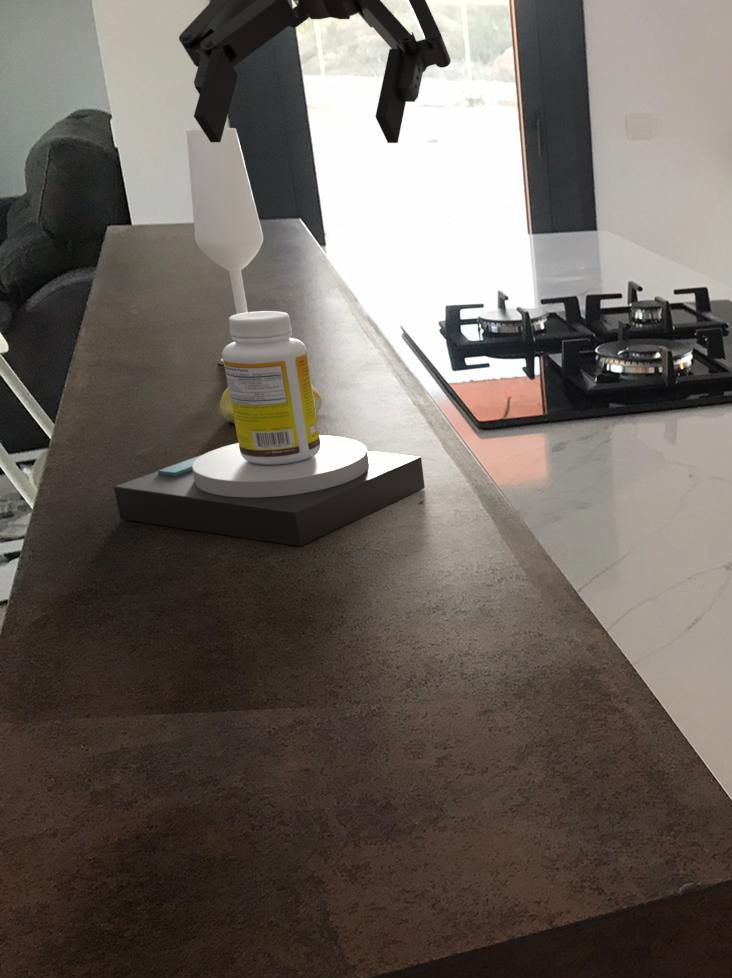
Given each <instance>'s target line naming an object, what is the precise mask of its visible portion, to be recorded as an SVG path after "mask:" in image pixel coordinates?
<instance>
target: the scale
mask: <svg viewBox="0 0 732 978" xmlns="http://www.w3.org/2000/svg"><path fill="white" fill-rule="evenodd" d="M319 436H320V442H321V447H320V450H319V452H318V453H317V454H316V455H314V456H312V457H310V458H308V459H305V460H302V461H298V462H294V463H288V464H278V465H262V464H255V463H251V462H249V461H247V460H245V459H244V458H243V457H242V455H241V453H240V449H239V443H238V442H236V443H232V444H229V445H228V444H227V445H225V446H220V447H219V448H216V449H213V450H210V451H208V452H205V453H204V454H201V455H199V456H195V457H193V458H189V459H186V460H184V461H181V462H177V463H175V464H172V465H170V466H166V467H164V468H161V469H158V470H157V471H155V472H152V473H149V474H145V475H142V476H140V477H137V478H135V479H131V480H129V481H126V482H123V483H119V484H117V485H114V486H113V490H114V495H115V500H116V504H117V510H118V514H119V519H120V520H122V521H129V522H135V523H143V524H150V525H154V526H155V525H156V526H162V527H169V528H176V529H181V530H182V529H183V530H189V531H195V532H203V533H208V534H215V535H221V536H228V537H236V538H242V539H248V540H254V541H262V542H267V543H274V544H282V545H287V546H295V547H302V546H304V545H306V544H309V543H311V542H313V541H315V540H317V539H319V538H321V537H323V536H325V535H328V534H330V533H332V532H334V531H336V530H338V529H340V528H343V527H345V526H347V525H349V524H351V523H353V522H355V521H357V520H359V519H362V518H364V517H366V516H369V515H370V514H372V513H374V512H376V511H378V510H380V509H383V508H386V507H387V506H389V505H392V504H393V503H395V502H397V501H399V500H402V499H404V498H406V497H408V496H410V495H413V494H415V493H417V492H418V491H421V490H423V489H425V488H426V487H425V478H424V477H425V476H424V471H423V461H422V460H423V459H422V457H421V456H415V455H408V454H406V455H405V454H398V453H390V452H380V451H374V450H368V447H367V446H366V445H365V444H363V442H360V441H358V440H355V439H352V438H348V437H344V436H335V435H325V434H323V435H322V434H319Z"/></svg>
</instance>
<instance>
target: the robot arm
mask: <svg viewBox="0 0 732 978" xmlns="http://www.w3.org/2000/svg"><path fill="white" fill-rule="evenodd" d="M292 1H293V2H294V4H295V6H294V7H292V6H291V4H290V2H289V0H211V1H210V2H209V3H208V4H207V5H206V7H204V8H203V10H201V12H200V13H199V14H198V15H197V16H196V17H195V18H194V19H193V20H192V21H191V23H190V24H188V26H187V27H186V28H185V29H184V30H183V31H182V32H181V33H180V35H179V36H178V40H179V42H180V44H181V46H182V47H183V48H184V51H185V52H186V53H187V55H188V57H189V58H190V60H191V62H192V63H193V64H194V66H196V67H197V69H196V73H195V76H194V80H193V85H194V88H195V89H196V91H197V92H198V94H199V95H198V99H197V103H196V107H195V110H194V113H193V118H194V119H195V121H196V123H197V124H198V125H199V127H200V128H202V130H203V131H204V133H205V134H206V136H207V137H208V139H209V141H210V142H221V138H222V135H223V131H224V128H226V122H227V118H228V116H229V111H230V107H231V104H232V101H233V96H234V93H235V89H236V85H237V81H238V77H239V75H238V73H237V72H236V70H235V68H234V67H236V66H237V65H238V64H240V63H241V62H242V61H244V60H245V59H246V58H248V57H250V56H251V55H252V54H253V53H254V52H255V51H257V50H258V49H260V48H261V47H263V46H264V45H265V44H266V43H268V42H269V41H270V40H272V39H274V38H275V37H276V36H278V35H279V34H280V33H281V32H284V30H285V29H287V28H288V27H290V28H294V29H295V28H298V27H299V26H300V25H301V24H303V23H304V22H305V21H307V20H308V19H310V20H324V19H329V18H332V19H336V20H350V19H351V17H352V16H354V15H357V14H358V15H359V16H360V17H361V19H363V21H364V22H365V23H366V24H367V25H368V26H369V27H370V29H371V28H373V30H375V32H376V33H377V34H378V35H379V36H380V37H381V39H383V41H384V42H385V43H386V44H387V45H388V46H389V50H388V54H387V60H386V63H385V64H386V65H385V69H384V73H383V78H382V83H381V89H380V94H379V97H378V98H379V99H378V103H377V108H376V112H375V120H376V121H377V123H378V125H379V127H380V130H381V132H382V134H383V136H384V138H385V140H386V142H387V143H388V144H398V143H399V138H400V133H401V128H402V123H403V118H404V113H405V107H406V104H407V102H408V103H414V102H416V101H417V99H418V98H419V94H420V89H421V84H422V80H423V79H422V78H423V73H424V72H426V71H427V68H429V67H431V66H434V65H436V67H438V68H442V69H443V68H446V67H448V66H449V65H451V62H452V59H451V57H450V54H449V52H448V49H447V46H446V43H445V41H444V39H443V35H442V34H441V31H440V29H439V27H438V24H437V23H436V20H435V18H434V16H433V14H432V11H431V9H430V6H429V5H428V3H427V1H426V0H406V1H407V3H408V6H409V8H410V11H411V13H412V15H413V18H414V21H415V22H416V24H417V27H418V29H419V30H420V33H421V35H422V37H423V39H421V40H417V39H416V37H415V33H414V32H413V31H412V32H409V30H408V29H407V28H405V26H404V25H403V24H402V23H401V22H400V21H399V19H398V18H397V17H396V16H395V15H394V14H393V12H391V11H390V9H389V8H388V7H387V6H386V5H385V3H383V1H382V0H292Z"/></svg>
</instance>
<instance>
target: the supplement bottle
mask: <svg viewBox="0 0 732 978" xmlns="http://www.w3.org/2000/svg"><path fill="white" fill-rule="evenodd" d="M228 325H229V334H230V335H231V336H230V338H231V341H233V342H231V343H229V344H227V345H226V346H224V348H223V349H222V353H221V354H222V358H223V362H224V366H223V367H224V372H225V376H226V381H227V388H228V389H229V394H230V399H231V405H232V410H233V416H234V421H235V424H234V426H235V432H236V437H237V443H239V449H240V453H241V455H242V457H243V458H244V459H245V460H247V461H249V462H251V463H255V464H262V465H278V464H288V463H294V462H298V461H302V460H305V459H308V458H310V457H312V456H314V455H316V454H317V453H318V452H319V450H320V447H321V442H320V436H319V435H320V430H319V424H318V417H317V415H316V410H315V404H314V397H313V391H312V387H313V385H312V379H311V371H310V366H309V360H308V359H309V358H308V352H307V348H306V345H305V344H304V342H303V341H301V340H300V339H297V338H294V337H292V336H293V332H292V330H293V327H292V326H291V325H292V324H291V320H290V316H289V314H288V313H287V312H285V311H284V312H283V311H279V310H278V311H277V310H260V311H248V312H246V313H240V314H233V315H231V316H229V317H228Z"/></svg>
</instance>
